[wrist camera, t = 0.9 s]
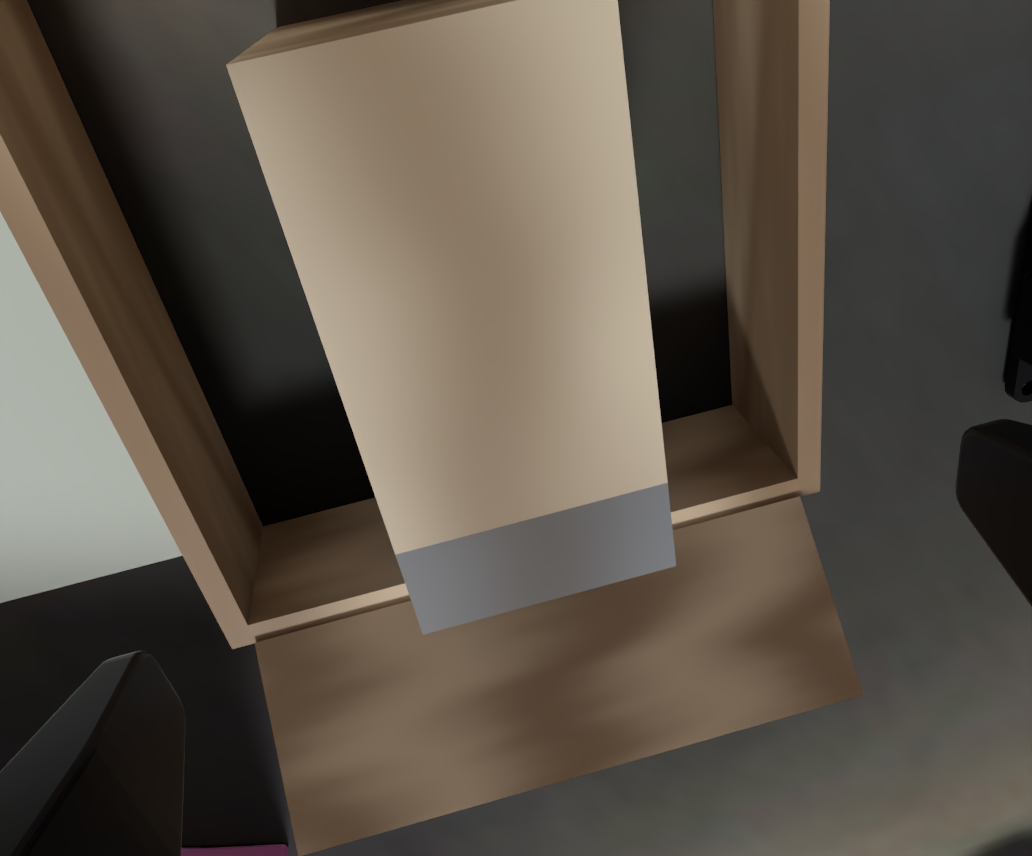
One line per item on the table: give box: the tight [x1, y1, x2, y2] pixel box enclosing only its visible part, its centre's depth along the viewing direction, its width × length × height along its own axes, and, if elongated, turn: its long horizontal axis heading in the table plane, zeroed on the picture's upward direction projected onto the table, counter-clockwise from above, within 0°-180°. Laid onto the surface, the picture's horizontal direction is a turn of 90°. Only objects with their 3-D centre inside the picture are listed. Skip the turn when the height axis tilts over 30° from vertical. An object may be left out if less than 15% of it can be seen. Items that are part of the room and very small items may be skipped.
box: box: [226, 0, 676, 635], centre depth 16 cm, size 5×10×8 cm, turn 11°
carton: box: [0, 0, 863, 856], centre depth 16 cm, size 15×23×7 cm, turn 11°
